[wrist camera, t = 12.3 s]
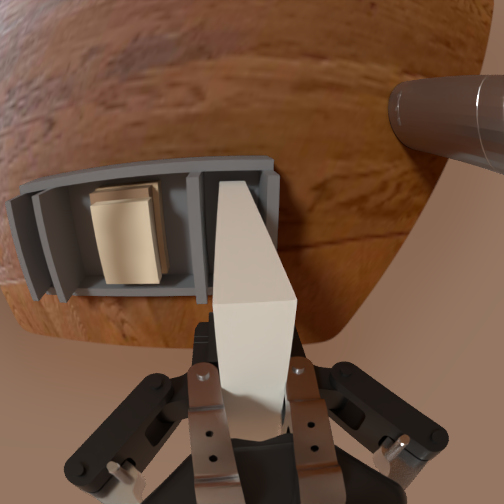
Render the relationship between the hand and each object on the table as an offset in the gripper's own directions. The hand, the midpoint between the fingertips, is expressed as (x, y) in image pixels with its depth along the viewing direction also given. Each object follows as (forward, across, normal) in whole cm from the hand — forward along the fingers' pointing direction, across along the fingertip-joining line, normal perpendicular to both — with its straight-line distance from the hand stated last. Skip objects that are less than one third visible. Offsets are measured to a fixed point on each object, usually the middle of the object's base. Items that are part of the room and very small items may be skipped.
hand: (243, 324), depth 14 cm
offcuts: (+17, +11, 0) cm, 20 cm away
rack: (+18, +10, 0) cm, 20 cm away
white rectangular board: (+15, 0, 0) cm, 15 cm away
